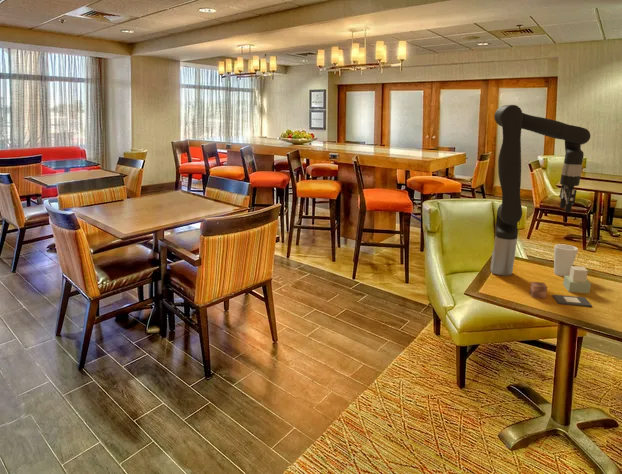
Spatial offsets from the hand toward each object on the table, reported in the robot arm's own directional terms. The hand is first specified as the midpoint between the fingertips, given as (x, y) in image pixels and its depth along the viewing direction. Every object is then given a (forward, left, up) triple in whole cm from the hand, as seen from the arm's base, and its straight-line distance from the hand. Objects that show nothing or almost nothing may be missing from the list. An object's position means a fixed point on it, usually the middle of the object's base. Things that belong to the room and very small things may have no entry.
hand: (564, 210), depth 207 cm
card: (-2, -34, -30) cm, 45 cm away
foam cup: (+3, -1, -30) cm, 30 cm away
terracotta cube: (-14, -31, -30) cm, 45 cm away
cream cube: (+4, -19, -26) cm, 32 cm away
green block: (+4, -19, -30) cm, 36 cm away
